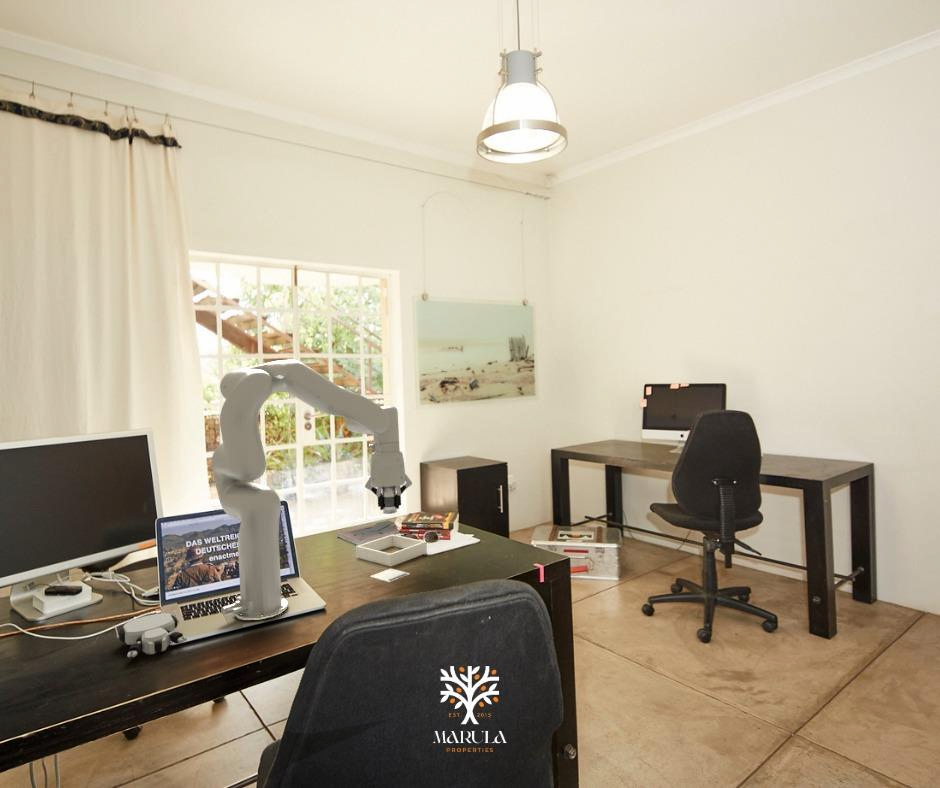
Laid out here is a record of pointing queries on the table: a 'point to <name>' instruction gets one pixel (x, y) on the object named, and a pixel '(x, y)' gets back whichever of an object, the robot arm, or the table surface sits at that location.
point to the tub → (410, 551)
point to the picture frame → (369, 532)
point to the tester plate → (390, 575)
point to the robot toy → (150, 633)
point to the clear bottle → (389, 500)
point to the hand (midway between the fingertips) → (389, 507)
